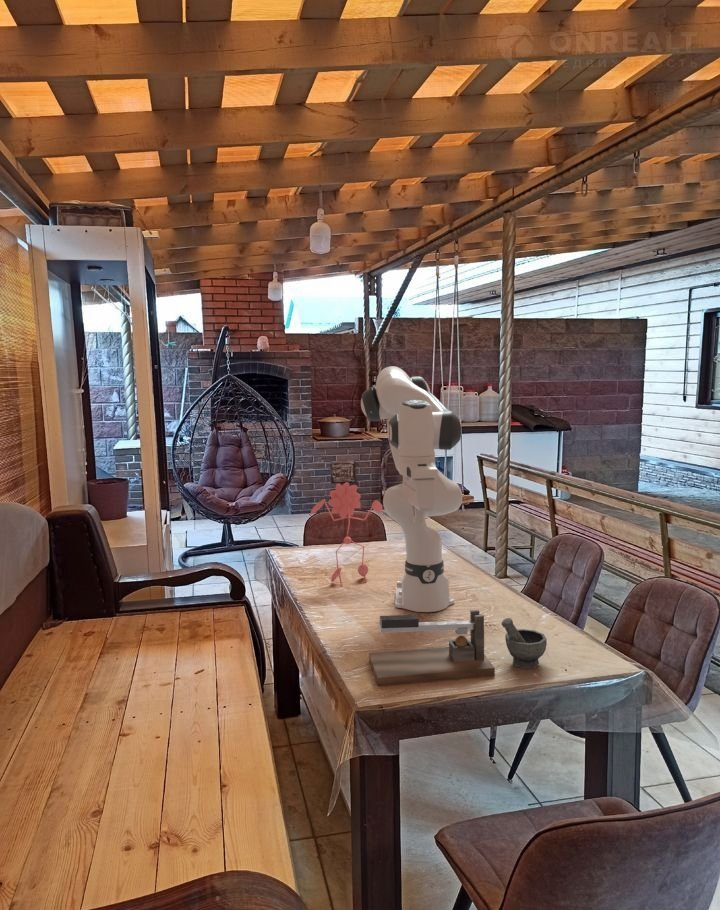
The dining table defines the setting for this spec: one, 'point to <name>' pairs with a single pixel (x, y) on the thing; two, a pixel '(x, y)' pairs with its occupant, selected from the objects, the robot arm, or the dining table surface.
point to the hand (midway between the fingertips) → (418, 522)
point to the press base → (435, 661)
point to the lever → (421, 624)
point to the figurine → (345, 504)
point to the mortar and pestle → (524, 645)
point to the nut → (461, 641)
